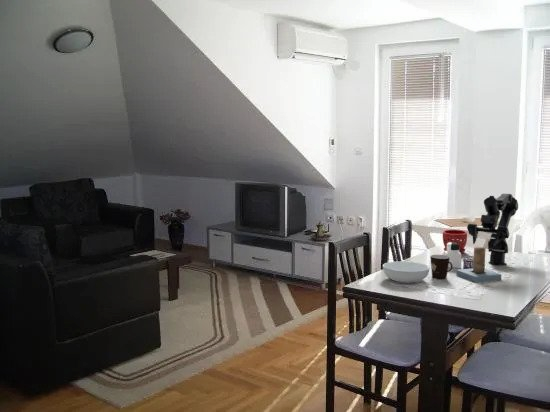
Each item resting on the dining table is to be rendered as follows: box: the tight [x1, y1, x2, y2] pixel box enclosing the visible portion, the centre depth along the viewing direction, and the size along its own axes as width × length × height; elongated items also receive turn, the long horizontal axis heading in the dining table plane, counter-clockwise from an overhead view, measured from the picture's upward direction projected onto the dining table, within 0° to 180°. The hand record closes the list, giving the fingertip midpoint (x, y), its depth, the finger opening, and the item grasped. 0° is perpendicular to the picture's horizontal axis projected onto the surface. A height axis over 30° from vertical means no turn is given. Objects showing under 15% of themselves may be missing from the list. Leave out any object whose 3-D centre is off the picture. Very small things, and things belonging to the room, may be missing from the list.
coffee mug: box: [430, 254, 453, 280], centre depth 263 cm, size 12×9×10 cm
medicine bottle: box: [443, 242, 463, 269], centre depth 287 cm, size 7×7×12 cm
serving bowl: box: [382, 260, 431, 284], centre depth 260 cm, size 21×21×7 cm
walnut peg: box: [472, 246, 487, 274], centre depth 265 cm, size 5×5×14 cm
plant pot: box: [442, 229, 468, 254], centre depth 320 cm, size 13×13×12 cm
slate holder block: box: [456, 267, 502, 283], centre depth 265 cm, size 14×14×2 cm
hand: (483, 244), depth 271 cm, fingers open, 9 cm apart
